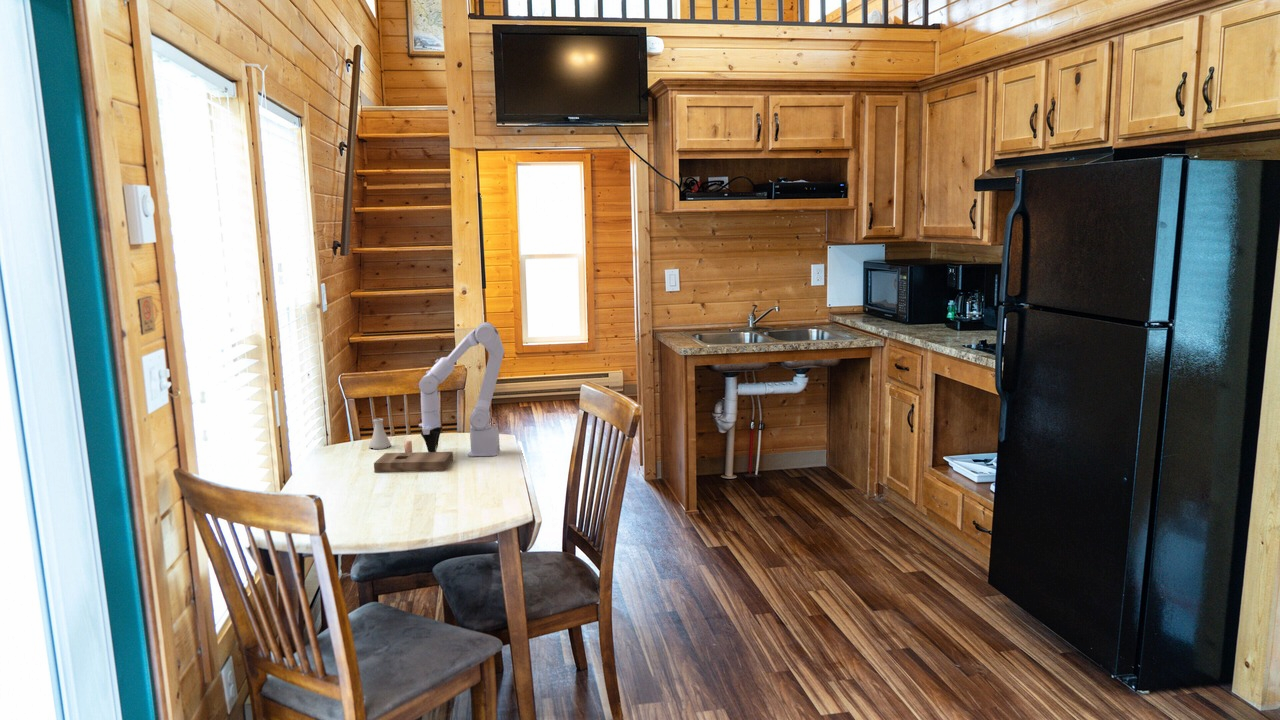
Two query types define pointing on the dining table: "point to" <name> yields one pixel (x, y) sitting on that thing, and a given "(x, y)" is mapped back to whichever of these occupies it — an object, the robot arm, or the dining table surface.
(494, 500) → the dining table surface
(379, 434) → the flask
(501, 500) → the dining table surface
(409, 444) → the short pin
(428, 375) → the robot arm
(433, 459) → the hole board
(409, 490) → the dining table surface
